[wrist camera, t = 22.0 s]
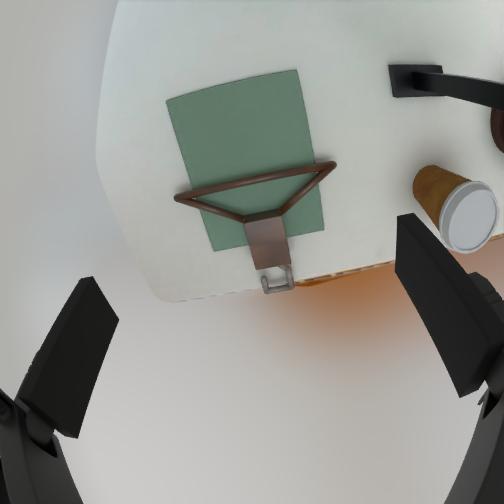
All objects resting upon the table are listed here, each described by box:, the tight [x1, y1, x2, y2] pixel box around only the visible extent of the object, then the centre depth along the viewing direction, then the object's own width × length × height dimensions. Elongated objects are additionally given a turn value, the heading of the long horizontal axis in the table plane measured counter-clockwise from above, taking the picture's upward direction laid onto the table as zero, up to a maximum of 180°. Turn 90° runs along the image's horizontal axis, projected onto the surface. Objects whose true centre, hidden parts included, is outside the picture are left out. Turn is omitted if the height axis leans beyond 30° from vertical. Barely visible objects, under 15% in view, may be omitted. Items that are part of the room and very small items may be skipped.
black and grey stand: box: [388, 65, 504, 111], centre depth 18 cm, size 8×17×23 cm, turn 13°
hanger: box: [174, 161, 337, 294], centre depth 42 cm, size 21×2×18 cm
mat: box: [166, 70, 324, 252], centre depth 38 cm, size 22×16×1 cm
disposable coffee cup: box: [413, 166, 499, 253], centre depth 34 cm, size 10×10×12 cm
